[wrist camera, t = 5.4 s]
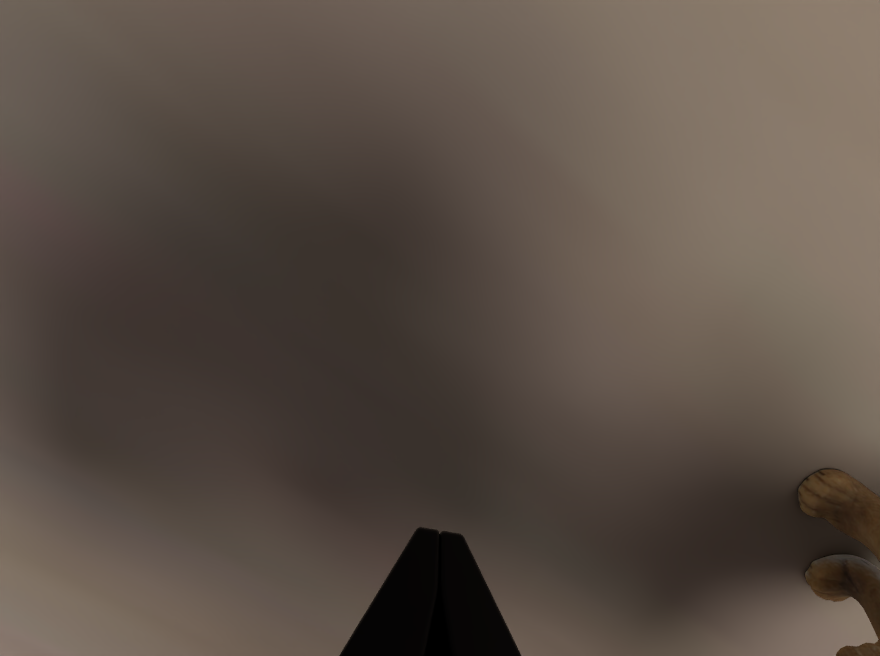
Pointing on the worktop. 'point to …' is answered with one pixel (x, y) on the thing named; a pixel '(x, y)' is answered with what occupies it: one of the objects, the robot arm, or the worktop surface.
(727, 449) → the worktop surface
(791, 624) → the worktop surface
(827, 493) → the lion figurine
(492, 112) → the worktop surface
